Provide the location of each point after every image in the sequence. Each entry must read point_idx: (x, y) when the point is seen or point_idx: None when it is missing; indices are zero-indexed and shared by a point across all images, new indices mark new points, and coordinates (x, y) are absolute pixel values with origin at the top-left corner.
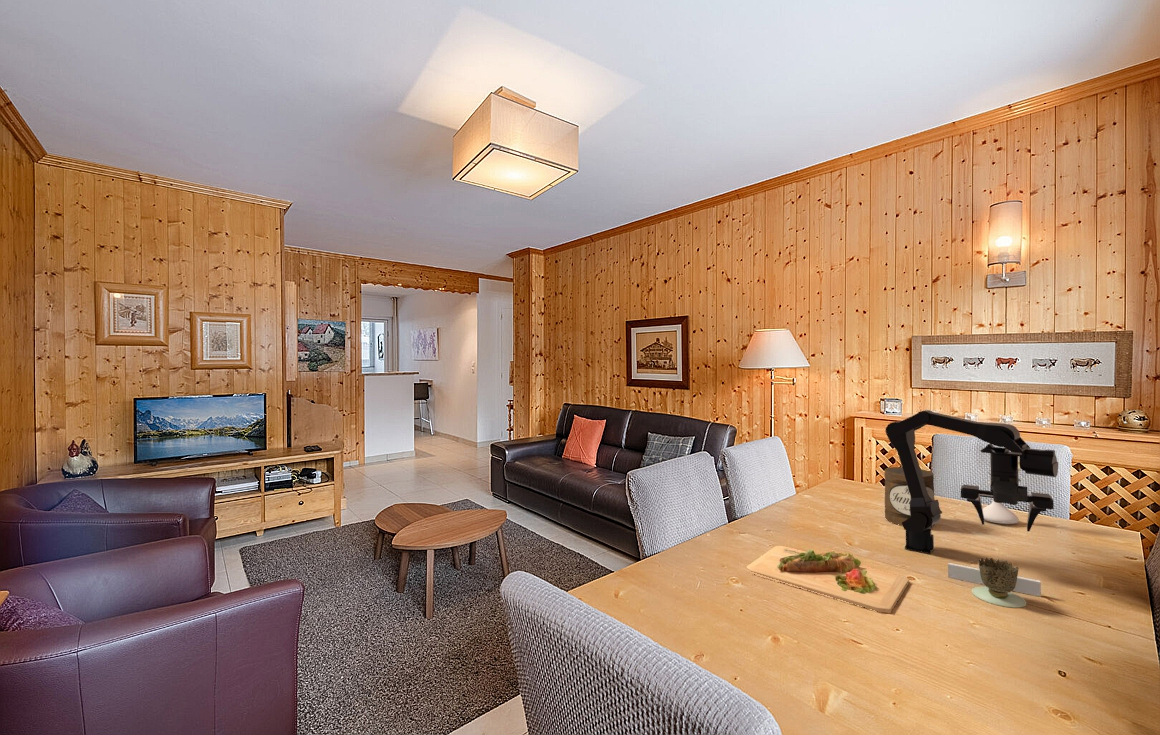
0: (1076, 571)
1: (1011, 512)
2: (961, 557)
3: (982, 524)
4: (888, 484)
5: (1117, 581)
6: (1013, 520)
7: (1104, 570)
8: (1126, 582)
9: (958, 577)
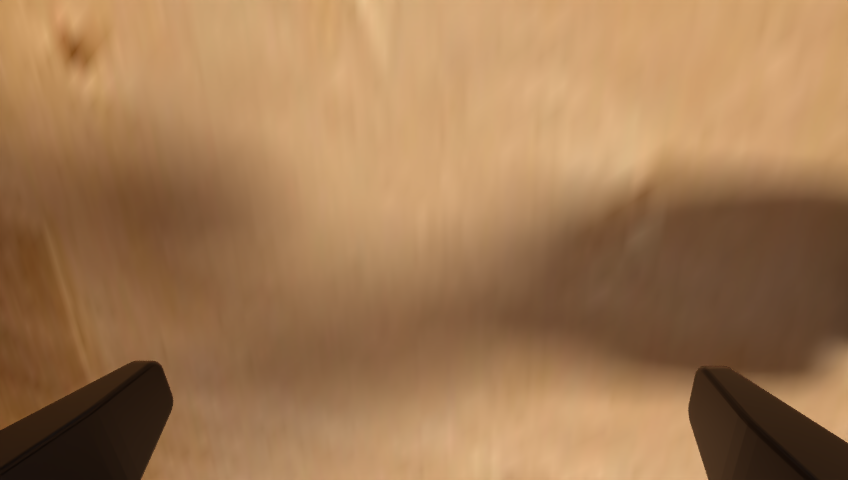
0: (174, 386)
1: None
2: (694, 270)
3: (719, 370)
4: None
5: (31, 353)
6: None
7: None
8: (7, 361)
9: None
